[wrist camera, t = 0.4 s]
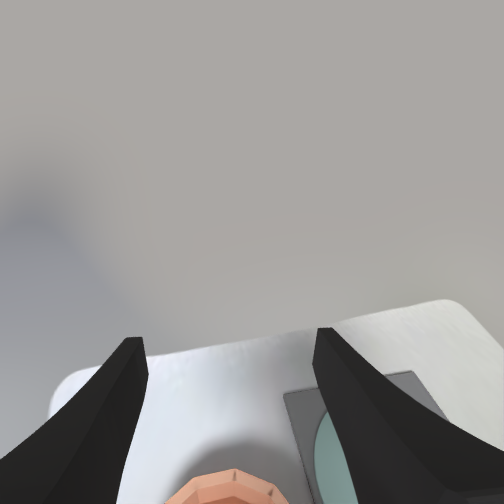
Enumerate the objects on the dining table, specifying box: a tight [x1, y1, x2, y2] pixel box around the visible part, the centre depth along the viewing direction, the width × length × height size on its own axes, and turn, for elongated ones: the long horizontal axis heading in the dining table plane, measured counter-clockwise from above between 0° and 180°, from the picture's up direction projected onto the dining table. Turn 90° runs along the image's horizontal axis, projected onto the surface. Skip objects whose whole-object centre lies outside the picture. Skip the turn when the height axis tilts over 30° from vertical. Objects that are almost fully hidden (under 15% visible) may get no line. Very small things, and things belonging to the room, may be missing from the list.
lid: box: [314, 412, 358, 504], centre depth 25 cm, size 15×15×5 cm
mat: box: [283, 372, 449, 504], centre depth 26 cm, size 18×16×1 cm
